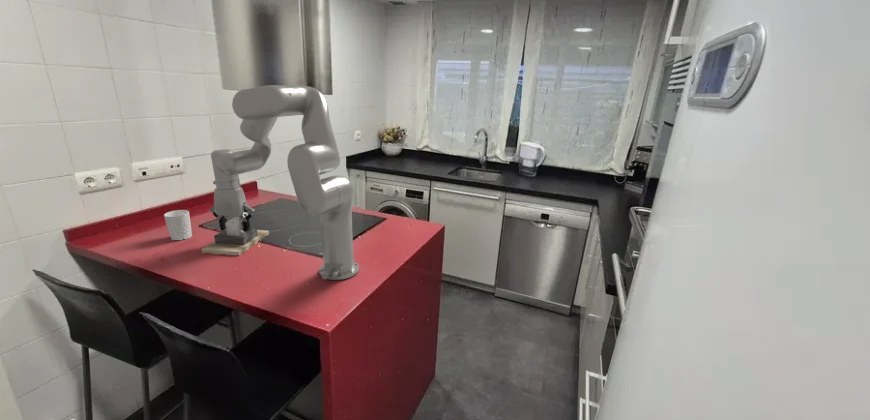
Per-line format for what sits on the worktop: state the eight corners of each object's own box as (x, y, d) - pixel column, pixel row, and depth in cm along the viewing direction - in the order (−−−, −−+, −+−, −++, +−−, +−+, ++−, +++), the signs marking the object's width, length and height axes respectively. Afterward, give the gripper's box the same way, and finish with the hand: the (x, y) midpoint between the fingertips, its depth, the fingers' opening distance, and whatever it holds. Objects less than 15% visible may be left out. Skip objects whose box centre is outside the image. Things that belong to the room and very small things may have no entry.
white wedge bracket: (246, 238, 133) (234, 217, 132) (231, 246, 138) (220, 225, 137) (254, 235, 136) (243, 214, 135) (240, 243, 141) (229, 222, 140)
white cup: (169, 243, 137) (164, 218, 134) (169, 236, 143) (163, 212, 140) (194, 238, 141) (189, 214, 138) (192, 232, 147) (188, 208, 144)
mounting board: (239, 255, 128) (237, 244, 127) (201, 253, 129) (199, 241, 128) (269, 234, 147) (267, 223, 146) (235, 232, 148) (234, 221, 147)
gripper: (197, 186, 128) (206, 232, 134) (245, 188, 127) (252, 235, 132) (212, 180, 135) (219, 225, 141) (257, 183, 134) (263, 227, 139)
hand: (235, 229), depth 137 cm, fingers open, 8 cm apart
